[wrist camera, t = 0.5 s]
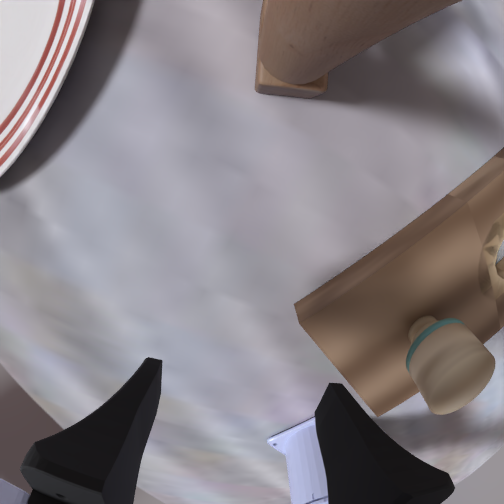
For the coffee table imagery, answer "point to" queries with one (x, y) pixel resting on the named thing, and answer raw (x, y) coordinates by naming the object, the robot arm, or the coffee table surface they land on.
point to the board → (414, 289)
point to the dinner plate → (34, 64)
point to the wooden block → (325, 38)
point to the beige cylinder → (447, 363)
